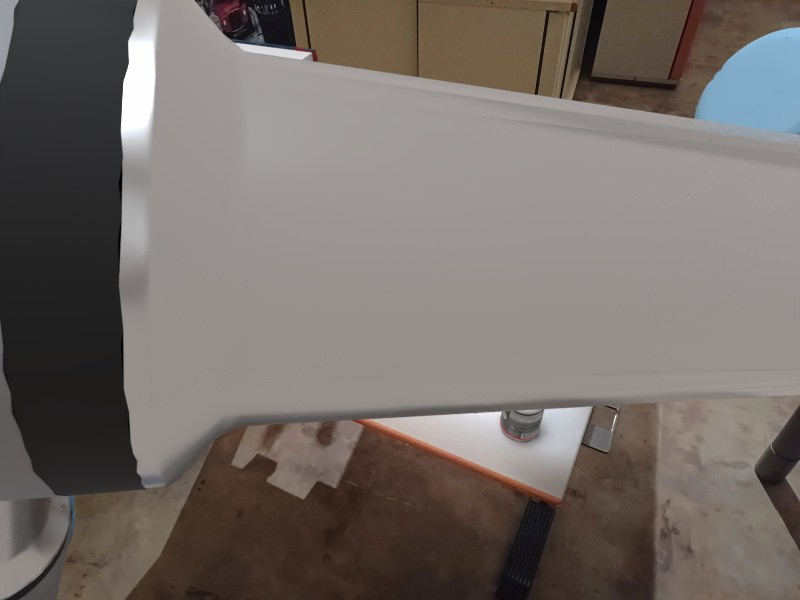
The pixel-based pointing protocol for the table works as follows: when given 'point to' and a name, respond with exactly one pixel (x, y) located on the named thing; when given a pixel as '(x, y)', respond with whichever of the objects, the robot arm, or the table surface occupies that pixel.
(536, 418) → the pill bottle
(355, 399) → the robot arm
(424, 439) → the table surface
